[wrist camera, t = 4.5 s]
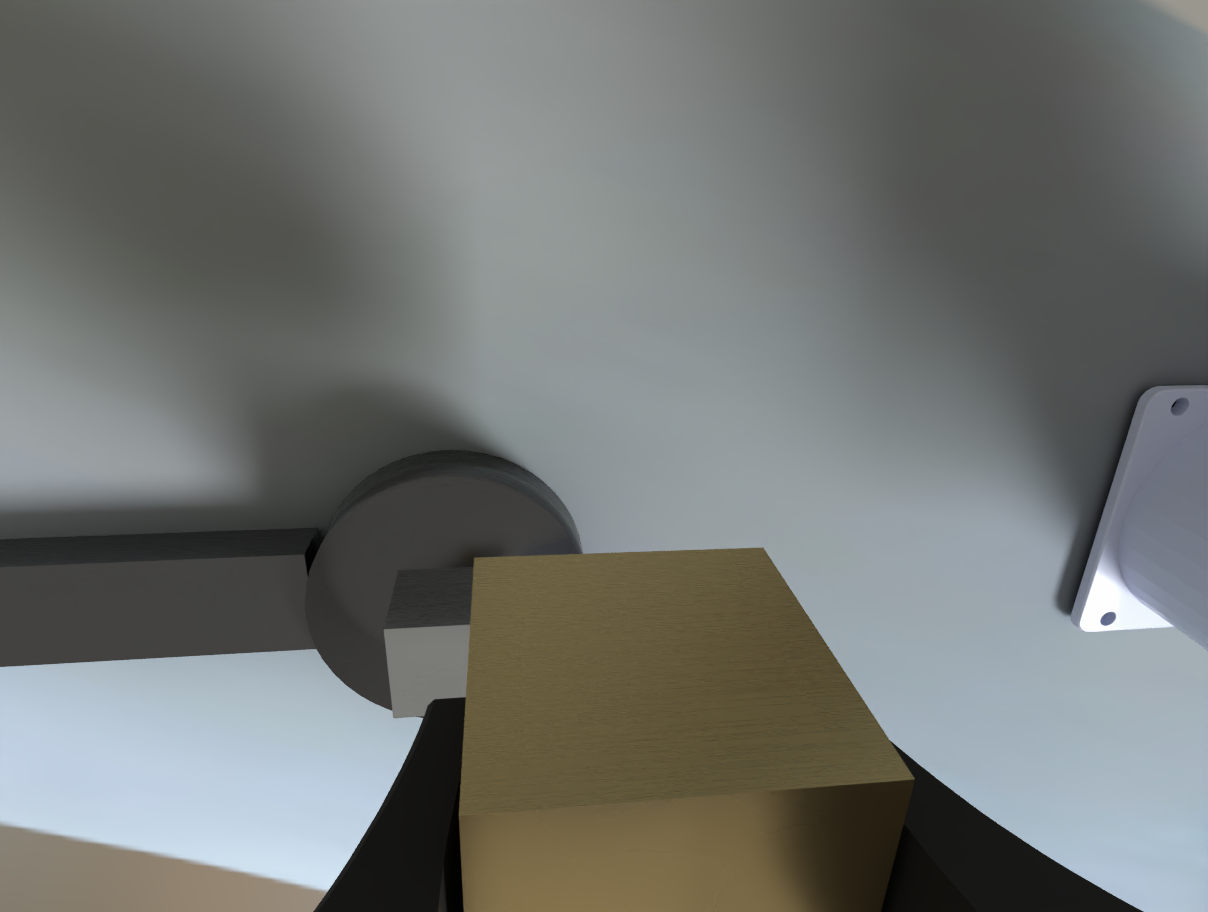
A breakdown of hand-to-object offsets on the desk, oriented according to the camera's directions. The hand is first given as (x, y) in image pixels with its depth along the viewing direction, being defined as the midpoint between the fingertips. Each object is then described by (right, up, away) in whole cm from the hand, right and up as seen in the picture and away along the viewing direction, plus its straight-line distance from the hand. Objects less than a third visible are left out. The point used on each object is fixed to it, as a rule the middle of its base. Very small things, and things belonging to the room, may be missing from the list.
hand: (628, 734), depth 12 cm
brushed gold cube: (0, +1, +1) cm, 2 cm away
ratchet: (-10, +1, +7) cm, 13 cm away
